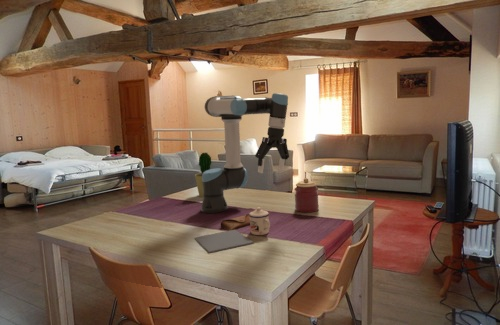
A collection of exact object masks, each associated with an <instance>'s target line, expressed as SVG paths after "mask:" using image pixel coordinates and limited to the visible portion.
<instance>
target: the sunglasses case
mask: <svg viewBox="0 0 500 325" xmlns="http://www.w3.org/2000/svg"><path fill="white" fill-rule="evenodd" d="M249 214H250V213H247V214H245V215H240V216H236V217H233V218H229V219H228V218H227V219H224V220H222V221H221V222H220V228H221V229H224V230H227V231H230V230H237V229H241V228H243V227H247V226H250V216H249Z"/></svg>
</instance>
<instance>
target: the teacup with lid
mask: <svg viewBox="0 0 500 325" xmlns="http://www.w3.org/2000/svg"><path fill="white" fill-rule="evenodd" d="M248 214H249V216H250V225H249V227H250V229H249V230H250V233H251V235H254V236H265V235H267V234H269V232H270V228H271V222H270V220H269V215H270V213H269V212H268V211H267V210H264V209H262V208H261V207H259V206H258V207H256V209H255V210H253V211H251V212H249V213H248Z"/></svg>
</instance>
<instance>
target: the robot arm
mask: <svg viewBox="0 0 500 325" xmlns="http://www.w3.org/2000/svg"><path fill="white" fill-rule="evenodd" d="M288 101H289V96H288V95H287V94H285V93H277V92H273V93H272V94H271V97H268V96H267V97H266V96H263V97H251V98H245V97H244V98H242V97H241V96H239V95H216V96H215V95H214V96H211V97H209V98H208V99H207V100H206V101H205V103H204V111H205V113H206V114H207V115H209V116H211V117H214V118H221V119H220V120H221V121H222V122H223V124H224V126H223V127H224V144H225V145H224V146H225V148H224V149H225V164H224V165H223V169H222V168H220V167H218V168H217V167H216V168H211V169H210V170H207V171H205V172H203V174H202V184H203V197H202V201H201V206H200V208H201V212H202V213H205V214H216V213H221V212H225V211H228V209H229V208H228V203H227V201H226V198H225V195H224V191H228V190H233V189H239V188H243V187H245V186H246V185H247V182H248V177H249V175H248V172H247V171H248V170H247V169H246V168H245V167H244V165H243V163H241V159H242V158H241V141H240V140H241V139H240V138H241V136H240V135H241V134H240V121H242V117H243V116H244V115H245V116H246V115H260V114H261V115H265V114H268V115H269V117H268V118H269V119H268V128H267V137H262V140H261V143H260V145H259V147H258V148H257V151H256V153H255V154H254V155H255V158H256V159H258V160H257V166H258V167H257V173H259V174H264V168H265V160H266V159H265V157H266V156H267V155H268V153H269V152H270V150H271V149H274V148H276V149H277V151H278V154H279V155H280V158H279V163H278V171H277V172H278V173H281V174H282V173H284V171H285V165H286V160H288V159H289V158H290V153H289V148H288V143H287V142H288V140H287V138H285V137H284V135H285V129H284V128H285V125H286V117H287V110H288V104H289V102H288Z"/></svg>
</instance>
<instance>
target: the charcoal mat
mask: <svg viewBox="0 0 500 325" xmlns="http://www.w3.org/2000/svg"><path fill="white" fill-rule="evenodd" d="M194 240H195V241H196V242H197V243H198V244H199V245H200V246H202V248H203V249H204V250H206V251H207V252H208V254H211V253H217V252H221V251H225V250H229V249H235V248H239V247H244V246H248V245H252V244H254V243H255V242H254V241H253V240H251V239H250V238H248V237H247V236H246V235H244V234H243V233H241V232H239V231H238V230H237V229H235V230H227V231H221V232H216V233H211V234H206V235H201V236H196V237H194Z"/></svg>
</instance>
